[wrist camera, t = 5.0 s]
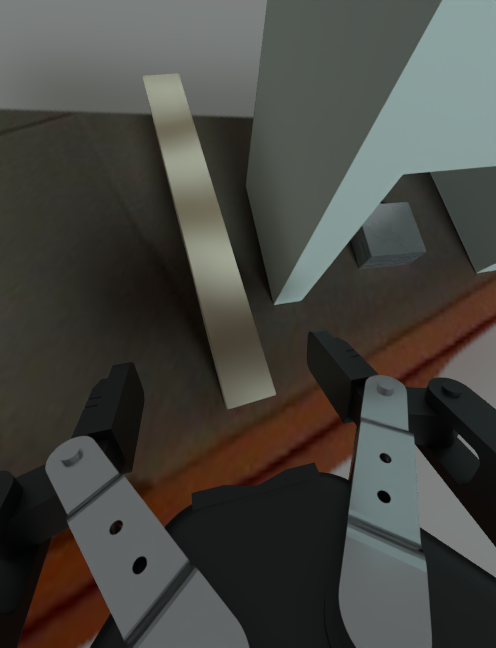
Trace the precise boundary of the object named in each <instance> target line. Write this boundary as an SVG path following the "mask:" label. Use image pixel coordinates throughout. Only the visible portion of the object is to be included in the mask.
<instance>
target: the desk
mask: <svg viewBox="0 0 496 648" xmlns="http://www.w3.org/2000/svg"><path fill="white" fill-rule="evenodd" d="M423 172H430V174H431V176H432V178H433V180H434V182H435V184H436V187H437V189H438V191H439V193H440V195H441V198H442V200H443V202H444V204H445V206H446V208H447V211H448V213H449V215H450V217H451V219H452V222H453V224H454V226H455V228H456V230H457V232H458V235H459V237H460V239H461V241H462V243H463V246H464V248H465V250H466V252H467V254H468V256H469V259H470V261H471V263H472V265H473V267H474V269H475V272H476V273H480V272H487V271H493V270H496V0H267V7H266V16H265V25H264V33H263V41H262V50H261V59H260V67H259V77H258V86H257V93H256V102H255V111H254V119H253V128H252V136H251V145H250V153H249V162H248V171H247V179H246V189H247V194H248V198H249V202H250V206H251V211H252V215H253V219H254V223H255V228H256V232H257V236H258V240H259V244H260V249H261V253H262V257H263V261H264V266H265V270H266V274H267V278H268V283H269V287H270V291H271V295H272V299H273V304H274V305H277V304H283V303H290V302H296V301H301V300H302V299H303V298H304V297H305V296H306V294H307V293H308V292H309V291H310V289H311V288H312V287H313V286H314V284H315V283H316V282H317V281H318V279H319V278H320V277H321V276H322V274H323V273H324V272H325V271H326V269H327V268H328V267H329V266H330V264H331V263H332V262H333V261H334V259H335V258H336V257H337V256H338V254H339V253H340V252H341V251H342V249H343V248H344V247H345V246H346V245H347V243H348V242H349V241H350V240H351V238H352V237H353V236H354V235H355V233H356V232H357V231H358V230H359V228H360V227H361V226H362V225H363V223H364V222H365V221H366V220H367V218H368V217H369V216H370V215H371V213H372V212H373V211H374V210H375V208H376V207H377V206H378V205H379V203H380V202H381V201H382V200H383V198H384V197H385V196H386V195H387V194H388V192H389V191H390V190H391V189H392V187H393V186H394V185H395V184H396V182H397V181H398V180H399V179H400V177H401V176H402V175H403V174H412V173H423Z"/></svg>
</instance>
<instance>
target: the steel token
mask: <svg viewBox="0 0 496 648" xmlns="http://www.w3.org/2000/svg"><path fill="white" fill-rule="evenodd" d="M351 243H352V246H353V250H354V253H355V257H356V260H357V264H358V267H359V269H363V268H373V267H383V266H394V265H404V264H410V263H412V262H413V261H414V260H416V259H417V258H418V257H420V256H421V255H423V254H424V253H425V252H426V249H425V246H424V244H423V241H422V238H421V236H420V233H419V230H418V227H417V225H416V222H415V219H414V217H413V214H412V211H411V209H410V206H409V203H408V202H404V203H387V204H379V205H378V206H377V207H376V208H375V210H374V211H373V212H372V213H371V215H370V216H369V217H368V218H367V220H366V221H365V222H364V223H363V225H362V226H361V227H360V228H359V230H358V231H357V232H356V233H355V235H354V236H353V237H352V238H351Z"/></svg>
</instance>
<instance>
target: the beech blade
mask: <svg viewBox="0 0 496 648" xmlns="http://www.w3.org/2000/svg"><path fill="white" fill-rule="evenodd" d="M143 80H144V84H145V89H146V93H147V97H148V101H149V105H150V109H151V113H152V118H153V122H154V126H155V130H156V134H157V138H158V142H159V147H160V151H161V155H162V159H163V163H164V167H165V171H166V175H167V179H168V183H169V187H170V191H171V195H172V199H173V203H174V207H175V211H176V215H177V218H178V222H179V226H180V230H181V234H182V238H183V242H184V246H185V250H186V254H187V258H188V262H189V266H190V269H191V273H192V277H193V281H194V285H195V289H196V293H197V297H198V301H199V305H200V309H201V313H202V317H203V320H204V324H205V328H206V332H207V336H208V340H209V344H210V348H211V352H212V356H213V360H214V364H215V368H216V372H217V375H218V379H219V383H220V387H221V391H222V395H223V399H224V403H225V406H226V408H227V409H231V408H234V407H237V406H241V405H244V404H247V403H251V402H254V401H257V400H260V399H264V398H267V397H270V396H274V395H276V392H275V389H274V386H273V382H272V379H271V376H270V373H269V369H268V366H267V363H266V359H265V356H264V353H263V350H262V346H261V343H260V340H259V336H258V333H257V330H256V326H255V323H254V320H253V317H252V313H251V310H250V307H249V303H248V300H247V297H246V293H245V290H244V287H243V284H242V280H241V277H240V274H239V270H238V267H237V264H236V261H235V257H234V254H233V251H232V247H231V244H230V241H229V237H228V234H227V231H226V228H225V224H224V221H223V218H222V214H221V211H220V208H219V205H218V201H217V198H216V195H215V191H214V188H213V185H212V181H211V178H210V175H209V172H208V168H207V165H206V162H205V158H204V155H203V152H202V149H201V145H200V142H199V139H198V135H197V132H196V129H195V125H194V122H193V119H192V116H191V112H190V109H189V106H188V102H187V99H186V96H185V93H184V89H183V86H182V83H181V79H180V76H179V73H172V74H160V75H148V76H143Z"/></svg>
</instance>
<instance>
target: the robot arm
mask: <svg viewBox="0 0 496 648" xmlns="http://www.w3.org/2000/svg"><path fill="white" fill-rule="evenodd" d="M307 364H308V367H309V370H310V372H311V373H312V375H313V376H314V378H315V379H316V381H317V382H318V384H319V385H320V387H321V389H322V390H323V392H324V393H325V395H326V396H327V398H328V399H329V401H330V403H331V404H332V406H333V407H334V409H335V410H336V412H337V413H338V415H339V417H340V418H341V420H342V421H343V423H344V424H346V423H350V422H355V424H356V425H357V428H356V434H355V441H354V447H353V454H352V461H351V467H350V473H349V479H348V480H347V479H345V478H342V477H340V476H337V475H334V474H330V473H323V472H318V470H317V467H316V465H315V463H311V464H307V465H303V466H299V467H295V468H291V469H287V470H285V471H283V472H281V473H279V474H277V475H276V476H274V477H272V478H270V479H269V480H267V481H265V482H263V483H262V484H260V485H257V486H234V485H223V486H219V487H215V488H211V489H207V490H203V491H199V492H195V493H192V505H190V506H188V507H187V508H185V509H184V510H182V511H181V512H180V513H178V514H177V515H176V516H175V517H174V518H173V519H172V520H171V521H170V522H169V523H168V524H167V525H166V526H165V528H164V527H163V526H162V525H161V523H160V522H159V521H158V519H157V518H156V517H155V515H154V514H153V513H152V512H151V510H150V509H149V508H148V506H147V505H146V504H145V502H144V501H143V500H142V499H141V497H140V496H139V495H138V493H137V492H136V491H135V489H134V488H133V487H132V486H131V484H130V483H129V482H128V480H127V479H126V478H125V477H124V475H123V474H125V473H129V472H132V468H133V462H134V457H135V451H136V445H137V440H138V434H139V429H140V423H141V418H142V412H143V406H144V391H143V388H142V385H141V382H140V379H139V376H138V374H137V371H136V368H135V365H134V364H133V363H132V362H130V363H124V364H119V365H114V366H113V367H112V369H111V372H110V374H109V377H108V378H106V379H101V381H100V382H99V383H98V384H97V385H96V386H95V387H94V388H93V389H92V392H91V394H90V396H89V398H88V399H89V400H88V401H87V403H86V405H85V409H84V410H83V412H82V415H81V417H80V419H79V422H78V424H77V426H76V428H75V431H74V433H73V435H72V438H71V439H70V440H68V441H66V442H65V443H63V444H62V445H60V446H59V447H58V448H57V449H56V450H55V451H54V452H53V453H52V454H51V455H50V457H49V458H48V460H47V462H46V464H45V465H43V466H41V467H39V468H36V469H34V470H32V471H30V472H28V473H26V474H23V475H21V476H19V477H17V478H15V477H14V476H13V475H12V474H11V473H10V472H8V471H0V648H17V646H18V643H19V639H20V636H21V633H22V630H23V627H24V624H25V620H26V617H27V614H28V611H29V608H30V605H31V601H32V598H33V595H34V592H35V589H36V586H37V582H38V579H39V576H40V573H41V570H42V567H43V563H44V560H45V557H46V554H47V551H48V548H49V544H50V541H51V538H52V537H53V536H54V535H56V534H58V533H60V532H61V531H63V530H65V529H67V528H69V527H70V529H71V531H72V533H73V535H74V537H75V539H76V541H77V543H78V546H79V548H80V550H81V552H82V554H83V556H84V558H85V560H86V562H87V564H88V566H89V568H90V570H91V572H92V574H93V577H94V579H95V581H96V583H97V585H98V587H99V589H100V591H101V593H102V595H103V597H104V599H105V601H106V603H107V606H108V608H109V610H110V612H111V614H110V616H109V617H108V619H107V620H106V622H105V624H104V625H103V627H102V629H101V630H100V632H99V634H98V635H97V637H96V638H95V640H94V642H93V643H92V645H91V647H90V648H496V578H495V577H494V576H492V575H491V574H489V573H488V572H486V571H485V570H483V569H482V568H480V567H479V566H477V565H476V564H474V563H473V562H471V561H470V560H468V559H467V558H465V557H464V556H462V555H461V554H459V553H458V552H456V551H455V550H453V549H452V548H450V547H449V546H447V545H446V544H444V543H443V542H441V541H440V540H438V539H437V538H435V537H434V536H432V535H431V534H429V533H428V532H426V531H425V530H423V529H422V528H420V523H419V508H418V492H417V475H416V459H415V445H416V446H417V447H418V449H419V450H420V451H421V452H422V454H423V455H424V456H425V457H426V459H427V460H428V461H429V463H430V464H431V465H432V466H433V467H434V469H435V470H436V471H437V473H438V474H439V475H440V477H441V478H442V479H443V480H444V482H445V483H446V484H447V485H448V487H449V488H450V489H451V491H452V492H453V493H454V494H455V496H456V497H457V498H458V499H459V501H460V502H461V503H462V505H463V506H464V507H465V508H466V510H467V511H468V512H469V514H470V515H471V516H472V517H473V519H474V520H475V521H476V522H477V524H478V525H479V526H480V528H481V529H482V530H483V531H484V533H485V534H486V535H487V536H488V538H489V539H490V540H491V542H492V543H493V544H494V545H495V547H496V409H495V408H493V407H492V406H491V405H490V404H488V403H487V402H486V401H485V400H483V399H482V398H481V397H480V396H478V395H477V394H476V393H475V392H473V391H472V390H471V389H470V388H468V387H467V386H466V385H464V384H462V383H460V382H458V381H456V380H453V379H449V378H434V379H432V380H430V381H429V383H428V386H427V388H409V387H404V385H403V384H402V383H401V382H399V381H398V380H396V379H394V378H392V377H389V376H384V375H379V374H378V373H377V372H376V371H375V370H374V369H373V368H372V367H371V366H370V365H369V364H368V363H367V362H366V361H365V360H364V359H363V358H362V357H361V356H359V354H358V353H357V352H356V351H354V349H353V348H352V347H351V346H350V345H349V344H348V343H347V342H345V341H344V340H342V339H340V338H338V337H337V338H333V337H332V335H331V334H330V333H329V332H328V331H327V330H326V329H323V330H317V331H311V332H309V334H308V345H307ZM458 434H459V435H461V437H462V438H463V439H464V440H465V441H466V442H467V443H468V444H469V445H470V446H471V447H472V448H473V449H474V450H475V451H476V453H477V454H478V457H479V459H478V458H477V457H476V456H475V455H474V454H473V453H472V452H471V451H470V450H469V449H468V448H467V447H466V446H465V445H464V444H463V443H462V442H461V441H460V440H459V439H458V438H457V436H458Z"/></svg>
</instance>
